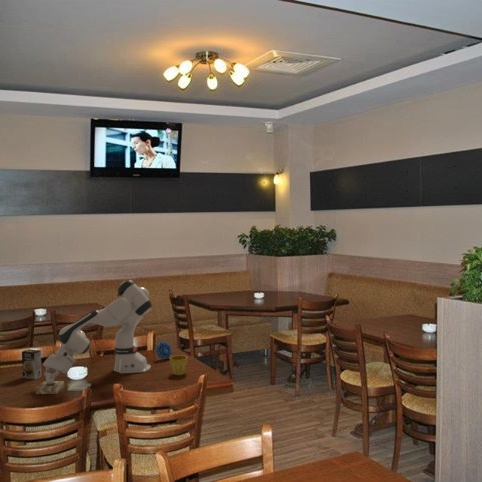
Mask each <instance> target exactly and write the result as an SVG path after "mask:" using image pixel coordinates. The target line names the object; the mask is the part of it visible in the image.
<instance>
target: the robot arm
mask: <svg viewBox="0 0 482 482" xmlns="http://www.w3.org/2000/svg"><path fill="white" fill-rule="evenodd" d="M116 296H117V298H116V299H115V300H113V301H112V302H111V303H109V304H108V305H107V306H105V307H104V308H102V309H94V310H91V311H89V312H88V313H85V314H84V315H82V316H81V317H80V318H78V319H76V320H75V321H74V322H71V323H70V324H68V325H66V326H64V327H62V328H60V330H59V332H58V335H57V336H58V342H60V343H61V345H60V347H58V349H57V350H56V352H54V353H51V354H50V355H48V357H47V358H46V359H45V360H44V362H43V364H42V365H43V367H45V372H44V373H43V375H44V376H45V377H46V372H51V370H52V371H55V372H53V373H54V374H52V375H51V377H52V378H54V379H55V378H56V377H57V376H59V375H60V374H61V373H62V374H64V375H65V374H67V373H68V372H69V371H70V370H71V369H72V367H73V365H74V364H75V363H76V359H75V357H74V356H75V354H78V355H83V354H86V353H87V351H89V349H90V346H91V342H90V340H89V339H88V338H87V337H86V333H85V332H84V331H83V330H81V329H82V328H83V327H86V326H87V325H89V324H94V325H98V326H101V327H105V328H111V327H112V328H113V327H117V326H121V328H120V329H119V330H118V331H117V332H116V333H115V336H114V337H115V338H114V340H115V343H114V344H115V347H114V356H115V361H114V367H113V371H114V372H117V373H119V374H135V373H146V372H149V371H150V370H151V368H152V366H151V364H148V361H147V358H146V357H145V356H144V355H142V354H141V353H140V352H138V346H135V345H134V344H135V343H134V337H135V330H136V328H137V326H138V324H139V323H140V322H141V321H142V320H143V318H144V315H147V314H148V313H149V312H150V311H151V309H152V307H153V306H152V302H151V299H150V292H149V290H148V289H147V288H145V287H143V286H138V285H137V284H136V282H134V281H133V280H132V279H127V280H125V281H123V282H121V283H120V285H119V287H118V289H117V295H116Z"/></svg>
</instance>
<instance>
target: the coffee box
mask: <svg viewBox="0 0 482 482" xmlns="http://www.w3.org/2000/svg"><path fill="white" fill-rule="evenodd" d="M21 366H22V378H23V379H29V380H36V379H37V380H38V379H39V378H41V377H42V351H41V350H39V349H31V348H29V349H25V350H22V351H21Z"/></svg>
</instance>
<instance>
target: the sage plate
mask: <svg viewBox="0 0 482 482" xmlns="http://www.w3.org/2000/svg"><path fill="white" fill-rule="evenodd" d="M91 386H92V383H73V384H72V385H70V387H68V388H67V392H83V391H82V390H83V389H84V388H87V387H89V388H90V387H91Z"/></svg>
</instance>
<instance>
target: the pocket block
mask: <svg viewBox="0 0 482 482" xmlns="http://www.w3.org/2000/svg"><path fill="white" fill-rule="evenodd" d="M64 388H65V380H54V385H53V386H46V380H44V381H42V382H41V383H40V384H38V385H37V386H36V387H35V394H36V395H53V394H54V395H57V394H59V392H61V391H62V390H63V389H64Z"/></svg>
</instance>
